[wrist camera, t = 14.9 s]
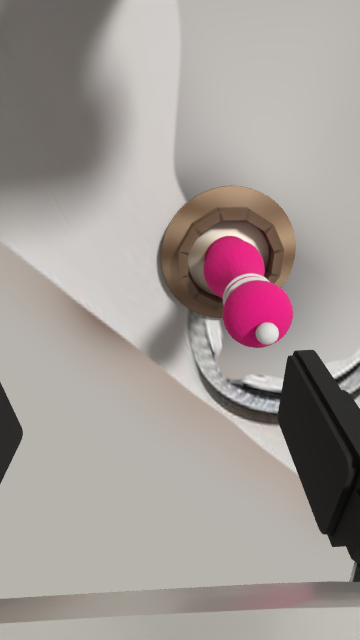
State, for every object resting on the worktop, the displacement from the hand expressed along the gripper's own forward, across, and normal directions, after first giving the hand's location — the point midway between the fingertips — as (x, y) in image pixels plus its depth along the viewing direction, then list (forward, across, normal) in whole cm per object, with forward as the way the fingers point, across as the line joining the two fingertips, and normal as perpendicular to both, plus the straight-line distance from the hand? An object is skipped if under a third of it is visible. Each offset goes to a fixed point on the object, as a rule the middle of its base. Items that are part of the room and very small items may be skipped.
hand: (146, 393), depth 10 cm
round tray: (+33, -8, +8) cm, 35 cm away
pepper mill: (+32, -8, +7) cm, 34 cm away
